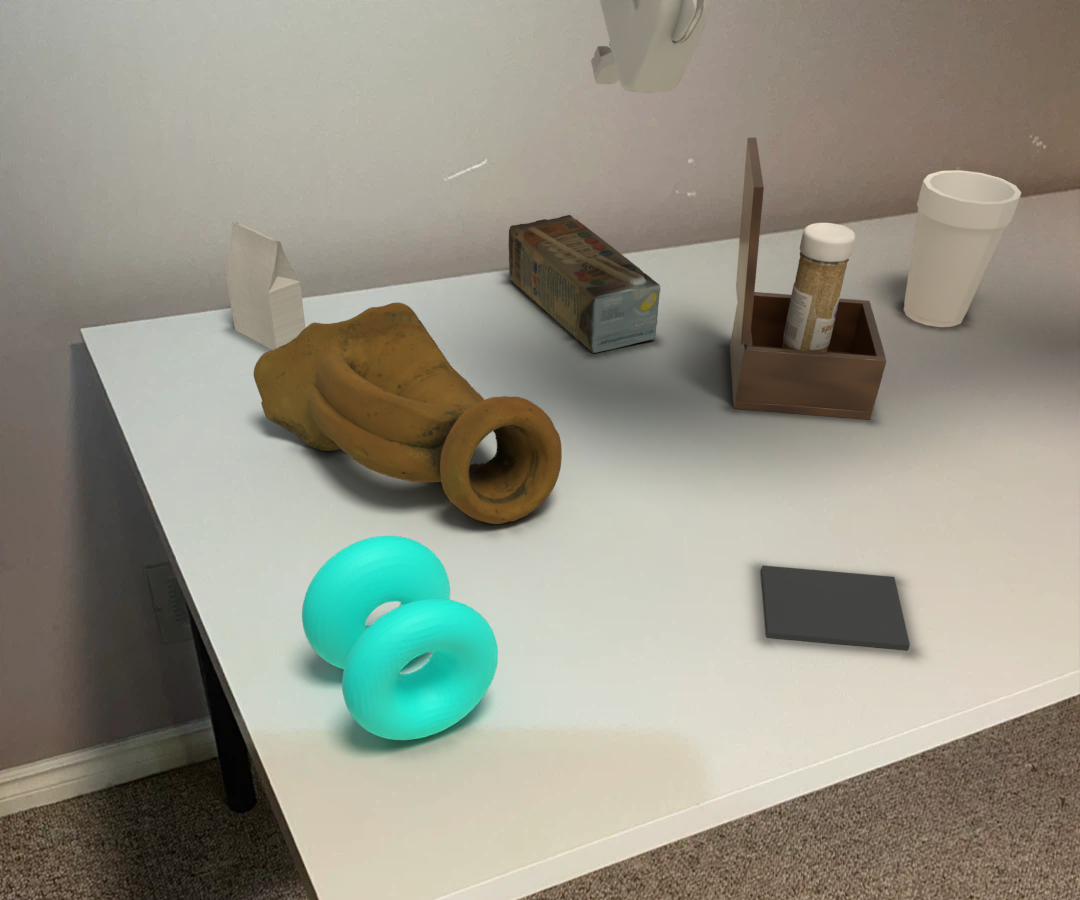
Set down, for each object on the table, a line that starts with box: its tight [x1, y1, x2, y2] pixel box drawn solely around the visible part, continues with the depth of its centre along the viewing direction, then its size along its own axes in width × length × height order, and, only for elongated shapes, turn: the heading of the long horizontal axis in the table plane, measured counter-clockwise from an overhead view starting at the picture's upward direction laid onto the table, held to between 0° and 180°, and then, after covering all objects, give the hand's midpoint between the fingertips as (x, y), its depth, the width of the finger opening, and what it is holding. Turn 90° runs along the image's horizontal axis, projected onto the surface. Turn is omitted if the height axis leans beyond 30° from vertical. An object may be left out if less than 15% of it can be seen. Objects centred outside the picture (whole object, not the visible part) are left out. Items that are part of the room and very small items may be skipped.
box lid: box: [735, 137, 765, 344], centre depth 95 cm, size 13×13×1 cm
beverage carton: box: [508, 214, 661, 354], centre depth 111 cm, size 8×19×7 cm, turn 27°
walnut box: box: [729, 291, 888, 421], centre depth 102 cm, size 13×13×6 cm
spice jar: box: [782, 222, 856, 352], centre depth 98 cm, size 5×5×14 cm
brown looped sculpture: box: [253, 301, 563, 525], centre depth 86 cm, size 18×13×22 cm
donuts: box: [301, 535, 499, 741], centre depth 67 cm, size 10×10×10 cm
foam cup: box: [903, 169, 1022, 328], centre depth 111 cm, size 10×9×13 cm
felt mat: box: [760, 564, 911, 651], centre depth 79 cm, size 10×8×1 cm
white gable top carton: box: [224, 221, 307, 351], centre depth 103 cm, size 4×7×10 cm, turn 48°
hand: (587, 11), depth 74 cm, fingers open, 8 cm apart
